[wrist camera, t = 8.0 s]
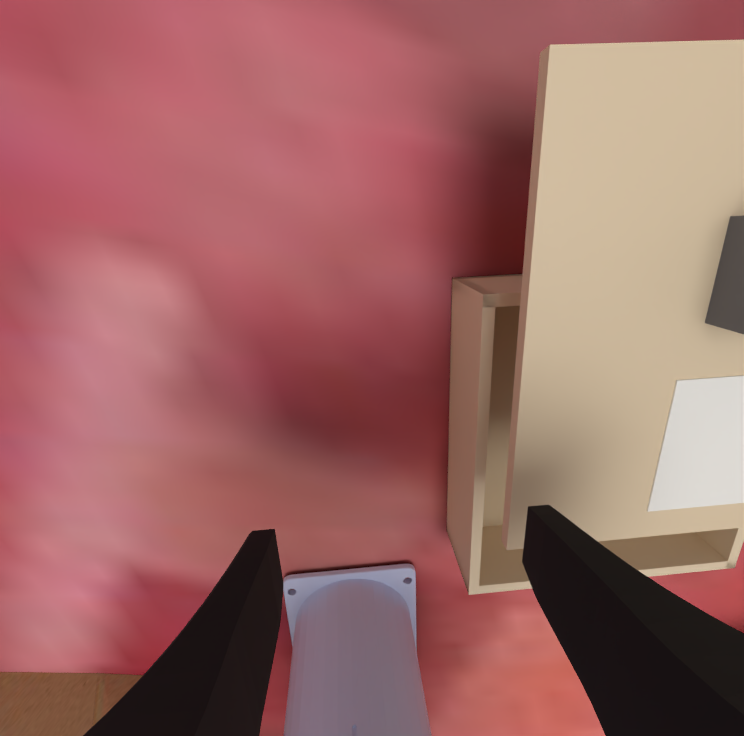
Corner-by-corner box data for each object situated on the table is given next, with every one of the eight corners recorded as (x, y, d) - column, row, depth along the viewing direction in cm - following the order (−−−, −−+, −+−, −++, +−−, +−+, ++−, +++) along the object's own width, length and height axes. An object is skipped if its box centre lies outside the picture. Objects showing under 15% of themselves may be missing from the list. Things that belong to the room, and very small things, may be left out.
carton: (669, 510, 26) (734, 567, 21) (446, 530, 25) (468, 594, 21) (731, 261, 20) (833, 273, 16) (451, 277, 20) (483, 294, 15)
